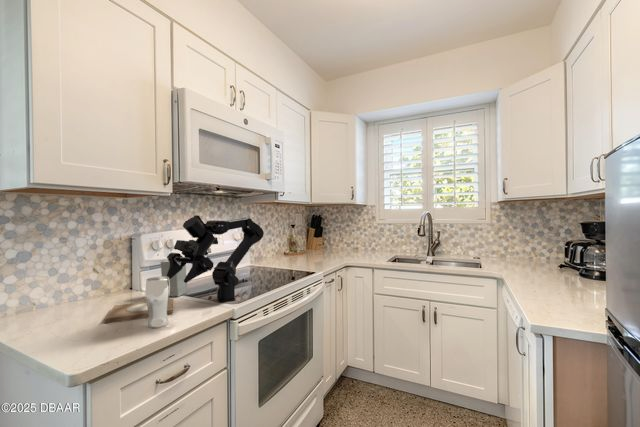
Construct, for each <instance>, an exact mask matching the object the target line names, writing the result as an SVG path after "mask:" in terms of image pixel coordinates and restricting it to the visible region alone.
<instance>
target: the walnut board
mask: <svg viewBox="0 0 640 427" xmlns="http://www.w3.org/2000/svg"><path fill="white" fill-rule="evenodd" d="M174 303H175V301H174V298H169V302H168V308H167V316H169V315H174V313H173V312H174ZM147 318H149V313H148V307H147V303H146V301H141V302H132V303H124V304H115V305H113V307H112V308H111V310H110V311H109V313H108V314H107V315H106V316H105V318H104V324H109V323H117V322H118V323H119V322H124V321H133V320H140V319H147Z"/></svg>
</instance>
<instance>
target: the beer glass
mask: <svg viewBox="0 0 640 427" xmlns="http://www.w3.org/2000/svg"><path fill="white" fill-rule="evenodd" d="M170 297H171V296H170V283H169V277H166V276H162V275H161V276H152V277H149V278H147V279H145V302H146V303H147V307H148V313H149V317H148V319H147V323H146V324H147V326H146V327H147V328H149V329H157V328H162V327H165V326H167V325H168V324H169V318H168V315H167V308H168V302H169V299H170Z"/></svg>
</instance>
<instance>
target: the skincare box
mask: <svg viewBox="0 0 640 427" xmlns="http://www.w3.org/2000/svg"><path fill="white" fill-rule="evenodd" d="M169 267H170V262H169V261H168V259H166V260H163V261H160V272H161V276H167V273H168V270H169ZM182 268H183V269H182V270H181V271H179V272H178V273H177V274H176V275H174V276H173V277H172V278H171V279H169V283H170V296H169V297H175V296H178V297H181V296H183V295H186V294H188V282H187V283H185V282H184V279H185V277H186V276H187V264H186V265H185V266H183V267H182Z"/></svg>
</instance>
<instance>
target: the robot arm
mask: <svg viewBox="0 0 640 427" xmlns="http://www.w3.org/2000/svg"><path fill="white" fill-rule="evenodd" d="M182 227H183V228H184V230H185V231H186V232H187V233H188V234H189V235H190V236H191V238H194V239H195V240H194V239H189V240H179V239H178V240H176V241H175V244H174V246H173V249H174V250H177V251H180V252H181V254H180V253H179V252H170V253H169V254H168V255H167V256H166V260H168V261H169V262H170V267H169V270H168V273H167V276H166V277H169V279H171V278H172V277H173V276H174V275H176V274H177V273H178V272H179V271H181V270H182V269H183V268H182V267H183V266H185V265H186V266H187V264H191V265H192V266H191V267H190V269H189V271H188V273H186V277H185V279H184V282H185V283H187V284H188V282H190V281H192V280H194V279H195V278H197V277H199V276H200V275H202V274H204V273H207V272H208V271H212V269H213V271H212V273H211V274H212V276H211V277H212V279H213V280H212V281H213V282H214V286H217V288H216V299H217V300H218V302H219V303H223V302H231V301H236V297H235V292H236V291H235V290H236V289H235V287H236V286H237V285H238V286H239V281H240V279H239V278H238V277H237V276H236V274H237V273H236V272H237V266H238V265H239V264H240V263H241V261H242V260H243V259H244V257H245V256H246V254H247V253H248V252H249V250H250V249H251V247H252V246H253V245H254V244H257V243H259V242H260V240H262V239H263V237H264V235H265V232H264V230H263V228H262V227H261V226H260V225H259V224H258V223H256V222H255V221H254V220H252V218H250V217H241V218H236V219H230V220H219V219H218V220H212V219H210V220H207V221H206V223H205V222H204V221H203V220H202V218H201V216H200V215H199V214H198V215H197V214H195V215H193V217H190V218H188V219H186V220H185V221H184V222H183V224H182ZM240 228H241V232H242V233H243V234H242V235H243V236H242V238H243V239H242V240H241V242H240V243H239V244H238V246H237V247H236V248H235V249H234V251H233V252H232V253H231V254H230V256H229V257H228V259H226V261H219V262H218V263H217V265H216V266H215V267H214V261H212V259H210V257H209V256H208V254H209V249H210V248H211V247H212V245H219V240H218V237H216V236H217V235H219V236H220V235H223V234H225V233H228V231H230V230H236V229H240ZM215 235H216V236H215Z"/></svg>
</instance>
